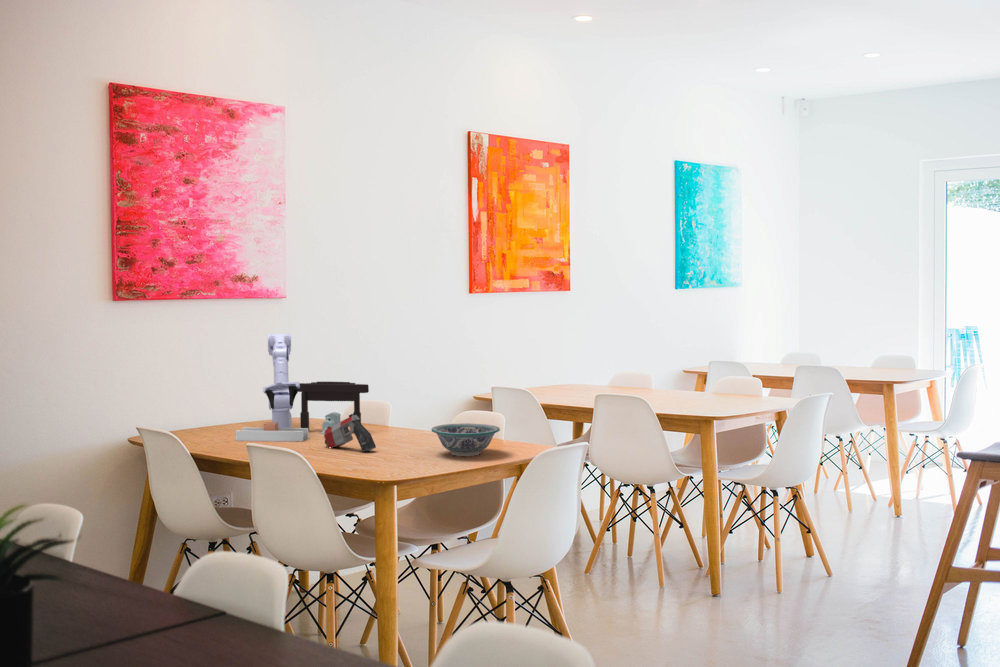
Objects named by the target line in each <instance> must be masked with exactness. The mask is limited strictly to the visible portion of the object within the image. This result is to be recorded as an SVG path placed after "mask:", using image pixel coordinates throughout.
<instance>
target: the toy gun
mask: <svg viewBox="0 0 1000 667" xmlns="http://www.w3.org/2000/svg"><path fill="white" fill-rule="evenodd" d="M359 420H360V418H359V417H358V416H357V415H354V414H353V413H351V414H349V415H348V417H347V418H346V419H343V420H342V421H341V420H340V422H339V423H338V424H336V425H334V426H332V427H330V426H329V427H327V429H326V430H325V432H324V434H323V437H324V444H325V445H326V448H327V447H331V449H334V448H333V447H336V448H339V446H340V447H342V446H344V445H345V444H348V443H349V442H351V441H353V440H354V439H353V438H354V437H353V435H355V438H356V440H357V442H358V444H359V446H360V449H361V452H362V453H365V451H366V452H369V451H372V450H374V449H376V448H377V446H376V444H375V441H374V439H373V437H372V436H373V435H372V434H371V433H370V432H369V430H368V429H367V428H366V427H365V426H364V425H363V424H362V422H361V423H360V422H359Z"/></svg>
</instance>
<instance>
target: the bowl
mask: <svg viewBox="0 0 1000 667" xmlns="http://www.w3.org/2000/svg"><path fill="white" fill-rule="evenodd" d="M500 430H501V428H500V427H499V426H495V425H491V424H485V423H469V422H468V423H449V424H448V423H447V424H441V425H436V426H433V427H431V432H432V433H434V434H436V435H437V437H438V440H439V441H440V443H441V445H442V447H443V448H444V449H446V450H448V451H449V452H450V454H452V455H451V456H453V455H457V456H456V457H459V456H472V457H475V456H474V455H478V456H480V455H481V451H483V450H485V449H487V448H488V447H489V445H490V444H491V442H492V439H493V438H494V435H495V434H496V433H498V432H500ZM479 454H480V455H479Z"/></svg>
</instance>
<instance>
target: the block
mask: <svg viewBox="0 0 1000 667" xmlns="http://www.w3.org/2000/svg"><path fill="white" fill-rule="evenodd" d="M263 428H264V431H278V422H272V421H271V422H268V421H267V422H265V423H263Z"/></svg>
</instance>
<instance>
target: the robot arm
mask: <svg viewBox="0 0 1000 667" xmlns="http://www.w3.org/2000/svg"><path fill="white" fill-rule="evenodd" d="M267 349H268V350H267V351H268V355H269V356H271V358H272V364H273V384H271V385H267V386H264V387H262V392H263V393H264V394H265V395H266V396H267V397H266V398H267V399H268V409H269V410H271V422H278V428H293V427H292V413H291V410H292V409H293V408H294V407H293V406H294V401H295V399H296V397H297V394H298V390H297V388H300V383H301V382H299V381H294V382H292V381H291V382H289V381H290V380H289V361H290V355H291V351H292V350H291V349H292V334H291V333H290V332H289V333H268V334H267Z"/></svg>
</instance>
